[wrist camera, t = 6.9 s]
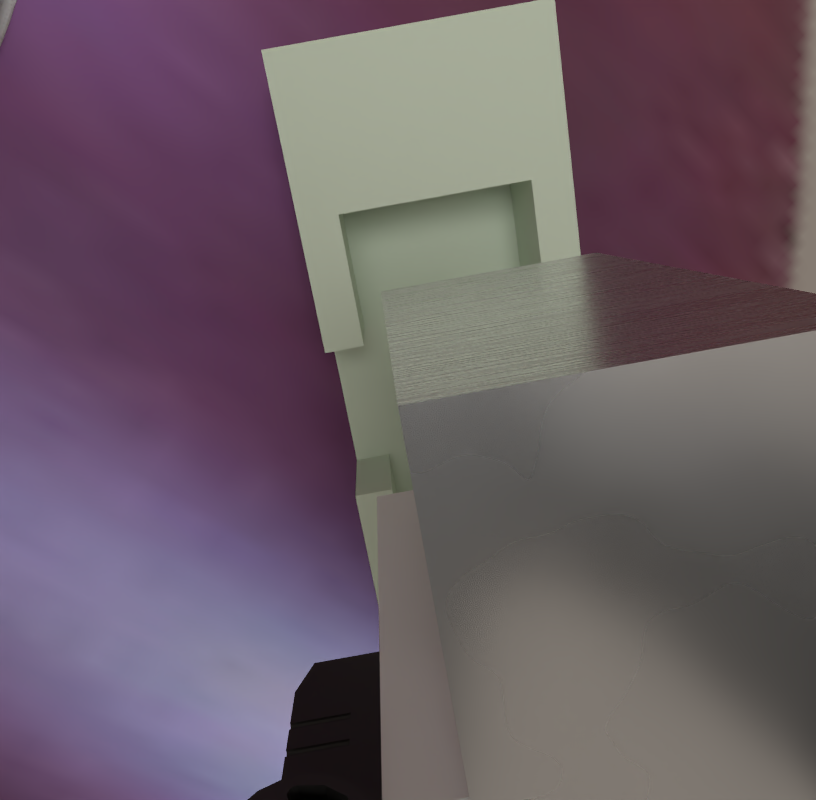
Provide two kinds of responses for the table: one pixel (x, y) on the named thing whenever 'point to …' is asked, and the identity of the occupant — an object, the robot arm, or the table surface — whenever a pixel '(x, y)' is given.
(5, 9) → the dish towel
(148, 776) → the table surface
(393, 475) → the rail
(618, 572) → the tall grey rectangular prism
